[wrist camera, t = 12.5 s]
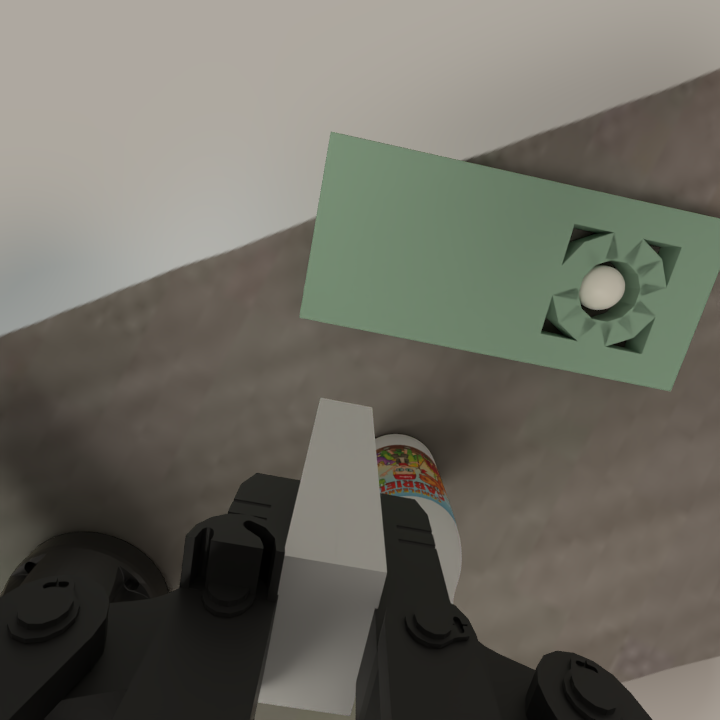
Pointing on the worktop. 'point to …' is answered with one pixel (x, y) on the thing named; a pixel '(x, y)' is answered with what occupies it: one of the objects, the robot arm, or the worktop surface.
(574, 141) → the worktop surface
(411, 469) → the milk bottle
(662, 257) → the plate
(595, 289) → the ball
